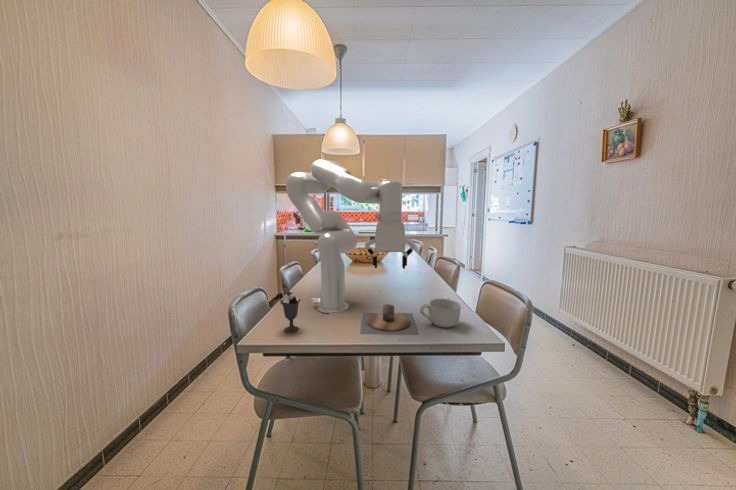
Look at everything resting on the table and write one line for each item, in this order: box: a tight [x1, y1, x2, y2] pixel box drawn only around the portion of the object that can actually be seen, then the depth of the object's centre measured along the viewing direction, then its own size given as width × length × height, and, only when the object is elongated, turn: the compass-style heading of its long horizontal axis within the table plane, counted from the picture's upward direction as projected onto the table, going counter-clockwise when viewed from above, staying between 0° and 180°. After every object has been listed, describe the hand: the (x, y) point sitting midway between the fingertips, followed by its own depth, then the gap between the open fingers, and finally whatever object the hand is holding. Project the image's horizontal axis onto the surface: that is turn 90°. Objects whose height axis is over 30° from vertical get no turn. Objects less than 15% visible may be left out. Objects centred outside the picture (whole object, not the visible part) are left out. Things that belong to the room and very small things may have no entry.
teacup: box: [419, 297, 462, 329], centre depth 101 cm, size 14×11×8 cm
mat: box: [359, 311, 420, 336], centre depth 102 cm, size 19×19×1 cm
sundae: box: [279, 285, 302, 334], centre depth 96 cm, size 7×7×15 cm
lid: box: [367, 303, 410, 332], centre depth 101 cm, size 15×15×6 cm
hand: (389, 267), depth 100 cm, fingers open, 9 cm apart
